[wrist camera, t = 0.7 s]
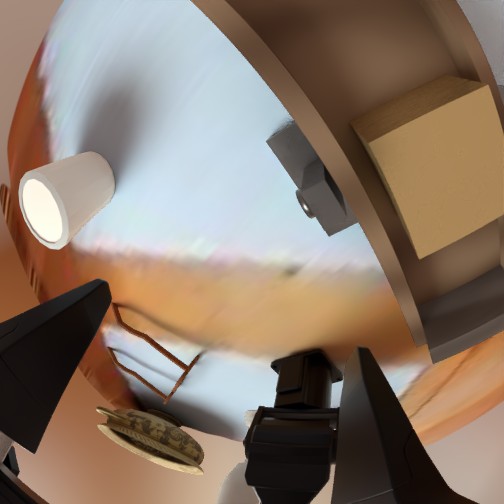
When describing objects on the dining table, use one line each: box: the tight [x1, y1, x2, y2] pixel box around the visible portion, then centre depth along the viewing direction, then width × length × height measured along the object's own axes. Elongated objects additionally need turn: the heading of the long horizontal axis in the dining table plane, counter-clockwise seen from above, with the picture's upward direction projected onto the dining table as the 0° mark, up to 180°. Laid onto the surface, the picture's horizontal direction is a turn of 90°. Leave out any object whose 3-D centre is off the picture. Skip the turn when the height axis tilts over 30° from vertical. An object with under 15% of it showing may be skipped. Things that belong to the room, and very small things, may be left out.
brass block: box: [349, 75, 504, 259], centre depth 10 cm, size 6×6×4 cm
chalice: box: [215, 410, 259, 504], centre depth 32 cm, size 7×7×18 cm
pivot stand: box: [266, 85, 504, 236], centre depth 13 cm, size 8×16×6 cm, turn 127°
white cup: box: [19, 151, 115, 249], centre depth 20 cm, size 7×7×7 cm
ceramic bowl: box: [96, 407, 204, 475], centre depth 47 cm, size 30×24×10 cm
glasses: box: [107, 302, 199, 404], centre depth 34 cm, size 13×13×5 cm
